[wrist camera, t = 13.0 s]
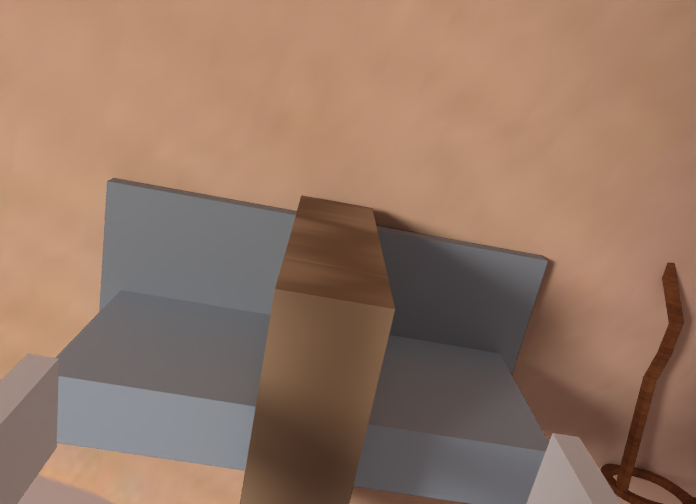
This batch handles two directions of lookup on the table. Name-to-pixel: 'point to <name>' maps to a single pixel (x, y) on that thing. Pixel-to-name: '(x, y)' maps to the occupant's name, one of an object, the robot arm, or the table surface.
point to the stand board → (250, 340)
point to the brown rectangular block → (320, 358)
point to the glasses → (643, 406)
